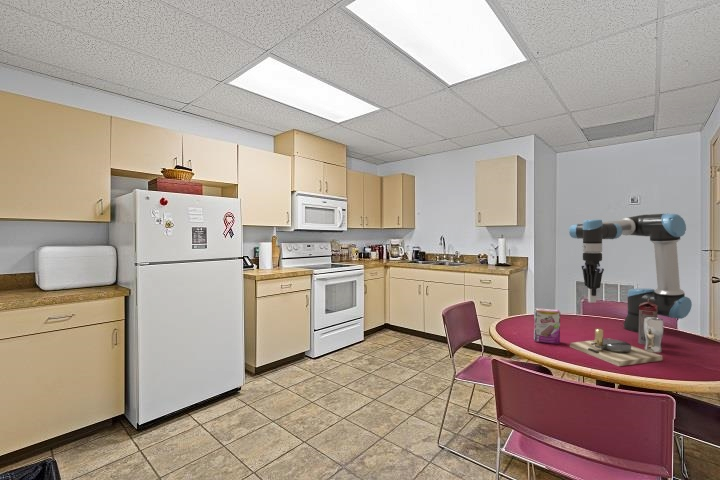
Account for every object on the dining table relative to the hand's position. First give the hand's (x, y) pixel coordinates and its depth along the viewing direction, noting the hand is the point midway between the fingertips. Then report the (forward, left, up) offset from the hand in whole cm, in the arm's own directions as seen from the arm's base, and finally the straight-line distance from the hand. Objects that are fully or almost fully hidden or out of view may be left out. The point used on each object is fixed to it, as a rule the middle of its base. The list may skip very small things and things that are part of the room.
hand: (592, 302), depth 159 cm
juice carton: (-34, +1, -23) cm, 41 cm away
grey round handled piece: (-2, +7, -20) cm, 21 cm away
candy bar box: (+12, -14, -23) cm, 29 cm away
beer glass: (-26, +9, -23) cm, 35 cm away
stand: (-5, +7, -22) cm, 24 cm away
